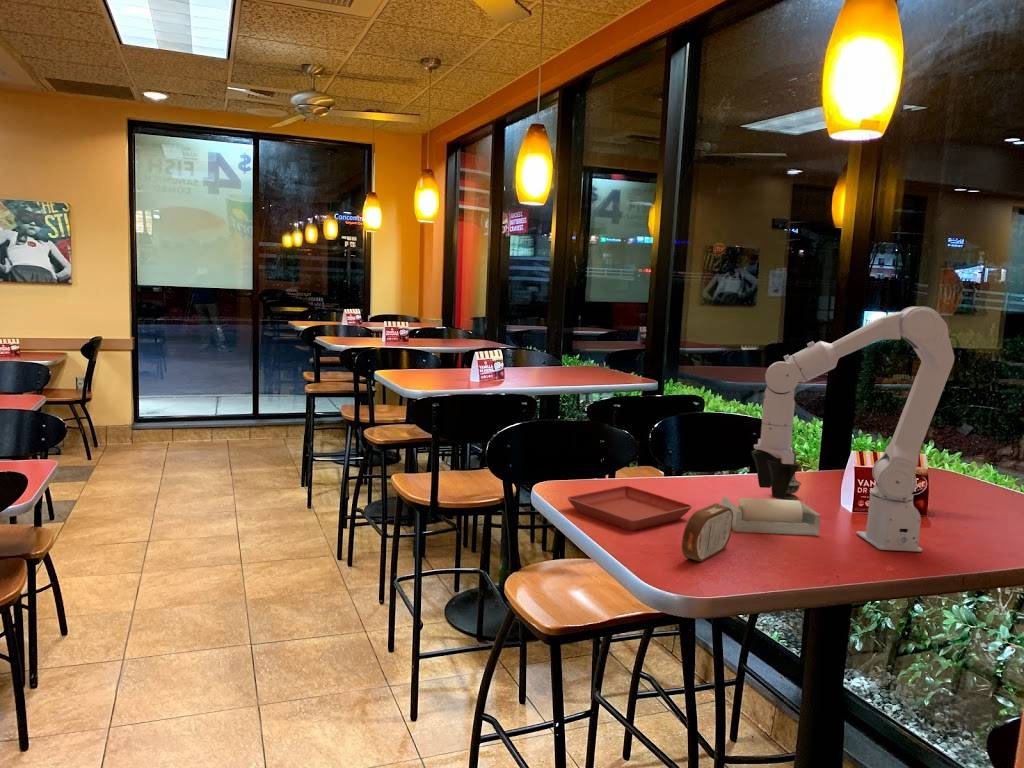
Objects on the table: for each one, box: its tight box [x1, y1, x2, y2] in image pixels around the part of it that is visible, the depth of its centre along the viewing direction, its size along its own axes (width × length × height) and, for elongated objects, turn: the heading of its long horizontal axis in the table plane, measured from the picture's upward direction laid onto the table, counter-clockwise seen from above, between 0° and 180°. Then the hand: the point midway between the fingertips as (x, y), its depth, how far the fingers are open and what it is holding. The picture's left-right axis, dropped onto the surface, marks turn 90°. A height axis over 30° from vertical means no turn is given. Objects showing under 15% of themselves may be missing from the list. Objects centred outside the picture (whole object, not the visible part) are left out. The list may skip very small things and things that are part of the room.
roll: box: [737, 497, 803, 523], centre depth 150 cm, size 5×12×5 cm, turn 90°
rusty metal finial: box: [777, 445, 802, 501], centre depth 173 cm, size 6×6×12 cm
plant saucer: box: [567, 485, 693, 531], centre depth 153 cm, size 18×18×3 cm
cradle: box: [720, 496, 821, 537], centre depth 150 cm, size 10×16×4 cm, turn 91°
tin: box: [681, 503, 733, 563], centre depth 131 cm, size 15×3×8 cm, turn 141°
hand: (771, 492), depth 150 cm, fingers open, 7 cm apart
